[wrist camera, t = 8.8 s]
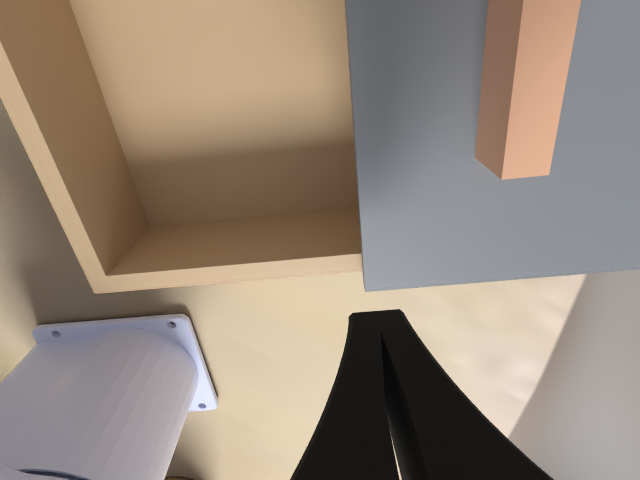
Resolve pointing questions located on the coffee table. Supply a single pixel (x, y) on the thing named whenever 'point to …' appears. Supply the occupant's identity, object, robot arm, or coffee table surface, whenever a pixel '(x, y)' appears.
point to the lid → (495, 138)
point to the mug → (176, 478)
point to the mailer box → (188, 135)
